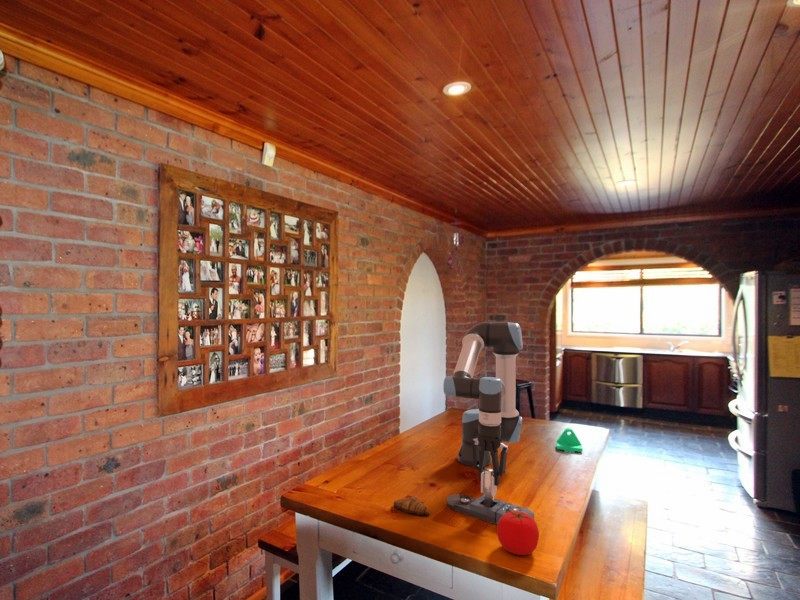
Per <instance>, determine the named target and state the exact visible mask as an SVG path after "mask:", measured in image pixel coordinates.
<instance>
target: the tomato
mask: <svg viewBox="0 0 800 600" xmlns="http://www.w3.org/2000/svg"><path fill="white" fill-rule="evenodd" d="M535 520H536V519H535V518H534V519H533V518H532V517H531V516H529V515H528V514H526V513H524V512H520V511H512V512H508V513H506V514H504V515H503V516H502V517H501V518H500V520H499V522H498V525H496V535H497V539H498V541H499V543H500V545H501V547H503V549H504V550H505V551H507V552H509V553H510V554H513V555H518V556H527V555H530V554H532V553H533V552H534V551H535V550H536V548H537V546H538V543H539V540H540V539H539V537H540V531H539V527H538V525H537V523H536V521H535Z"/></svg>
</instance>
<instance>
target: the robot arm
mask: <svg viewBox="0 0 800 600" xmlns="http://www.w3.org/2000/svg"><path fill="white" fill-rule="evenodd" d="M461 344H462V348H461V351H460V353H459V357H458V359H457V362H456V365H455V368H454V371H453V374H452V375H447V376H445V378H444V380H443V385H442V386H443V387H442V388H443V393H444V395H445V396H446V397H453V398H461V399H462V398H463V399H472V400H473V399H474V400H475V399H476V400H478V402H479V403H478V407H479V408H473V409H468V410H466V411H464V412H463V413H462V420H461V423H462V424H461V425H462V426H461V428H462V429H461V434H462V435H461V444H460V447H459V451H458V454H457V460H458V463H460V464H462V465H464V466H465V465H466V466H470V467H473V469H474V470H477V471H478V481H479V482H480V493H481V494H484V469H486V466H489V465H492V469H493V473H494V475H492V478H491V495H492V496H493V497H494V496H496V494H497V493H498V490H497V489H498V486H499V484H500V476H501V477H502V476H504V474H506V469H507V468H506V467H507V456H508V451H509V449H510V446H509V445H508V444H507V445H506V444H505V443H509V444H510V443H513V444H516V443H518V442H520V437H521V429H522V424H523V417H522V416H521V415H520V412H519V411H518V410H517V409H516V395H517V394H516V388H517V387H516V383H517V382H516V380H517V378H516V372H517V371H516V369H517V368H516V367H517V366H516V362H517V361H516V360H517V359H516V358H517V356H518V355H520V351H521V350H523V347H524V345H523V344H524V343H523V334H522V328H521V326H520V324H519V323H516V322H509V321H506V322H505V321H502V322H501V321H483V322H479V323H477V324H475V325H473V326H472V327H470V328H469V329H468V330H467V331H466V332H465V334H464V335H463V338H462V340H461ZM483 349H492V350H491V352H492V354H493V355H494V356H495V376H484V377H479V378H478V377H474V375H475V371H476V366H477V363H478V360H479V358H480V357H479V356H480V353H481V352H482V351H483ZM498 449H500V451H501V452H500V456H499V455H498V454H499V450H498ZM491 463H492V464H491Z"/></svg>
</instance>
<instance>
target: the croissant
mask: <svg viewBox="0 0 800 600" xmlns="http://www.w3.org/2000/svg"><path fill="white" fill-rule="evenodd" d="M393 507H395V509H398V510H400V511H403V512H404V513H407V514H413V515H416V516H424V517H425V516H429V514H430V510H429V508H428V507H427V506H426V505H425V504H424V503H423V502H421V500H420V499H419V498H418V497H415V496H409V497H406V498H400V499H396V500H395V501H393Z"/></svg>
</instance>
